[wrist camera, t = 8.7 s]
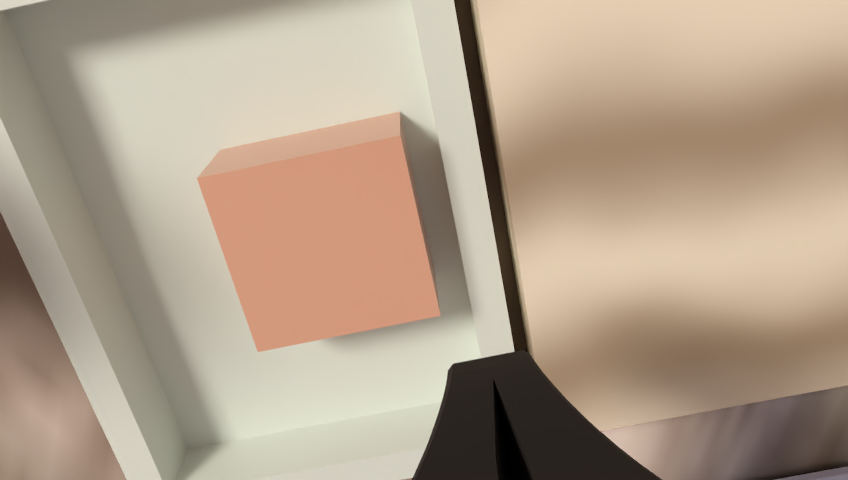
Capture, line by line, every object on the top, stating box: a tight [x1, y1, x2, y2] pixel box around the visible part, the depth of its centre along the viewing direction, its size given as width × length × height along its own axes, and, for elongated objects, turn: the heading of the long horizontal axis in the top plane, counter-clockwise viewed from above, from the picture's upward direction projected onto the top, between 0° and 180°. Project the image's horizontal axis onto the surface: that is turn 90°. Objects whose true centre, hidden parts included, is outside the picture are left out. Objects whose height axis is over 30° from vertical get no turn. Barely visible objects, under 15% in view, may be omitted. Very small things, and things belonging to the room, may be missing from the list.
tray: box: [0, 0, 515, 480], centre depth 19 cm, size 16×12×2 cm
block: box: [197, 112, 441, 352], centre depth 19 cm, size 5×5×2 cm
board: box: [470, 0, 848, 431], centre depth 19 cm, size 16×12×2 cm
